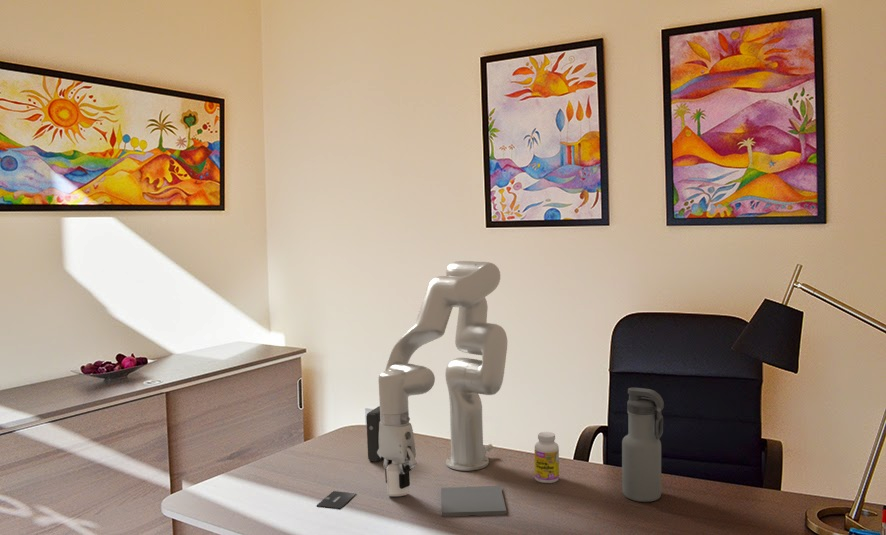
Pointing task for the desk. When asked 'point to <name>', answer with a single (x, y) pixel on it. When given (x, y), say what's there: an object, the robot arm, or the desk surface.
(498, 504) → the charcoal mat
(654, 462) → the water bottle
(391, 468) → the eye dropper bottle
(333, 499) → the solid state drive
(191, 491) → the desk surface
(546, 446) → the supplement bottle
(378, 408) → the card reader
